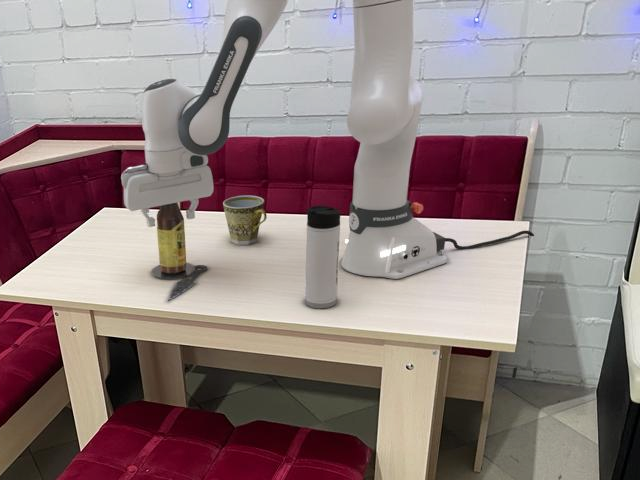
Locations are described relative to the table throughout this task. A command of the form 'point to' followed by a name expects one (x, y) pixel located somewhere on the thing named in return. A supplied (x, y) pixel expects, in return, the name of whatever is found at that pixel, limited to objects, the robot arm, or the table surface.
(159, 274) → the round mirror
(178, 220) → the sauce bottle
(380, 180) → the robot arm
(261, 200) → the ceramic cup
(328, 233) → the travel mug
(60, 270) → the table surface
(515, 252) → the table surface
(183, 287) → the throwing knife
